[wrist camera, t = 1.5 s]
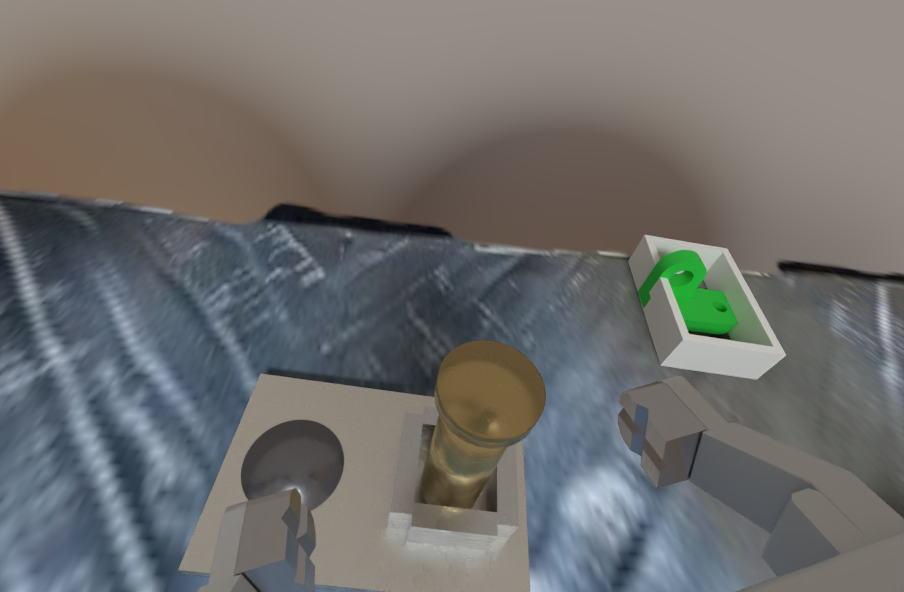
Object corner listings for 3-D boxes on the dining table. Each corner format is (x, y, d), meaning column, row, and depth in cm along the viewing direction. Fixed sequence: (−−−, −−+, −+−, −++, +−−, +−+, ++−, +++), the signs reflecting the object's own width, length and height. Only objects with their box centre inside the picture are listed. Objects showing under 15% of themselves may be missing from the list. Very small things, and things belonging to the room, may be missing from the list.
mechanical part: (650, 326, 56) (684, 282, 50) (637, 291, 60) (667, 247, 54) (738, 336, 57) (781, 294, 51) (719, 301, 61) (758, 259, 55)
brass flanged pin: (407, 520, 35) (432, 428, 23) (416, 443, 39) (441, 333, 28) (487, 529, 36) (550, 444, 24) (487, 452, 40) (541, 347, 28)
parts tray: (660, 365, 52) (683, 339, 48) (628, 261, 64) (644, 234, 61) (756, 379, 53) (786, 355, 49) (706, 274, 65) (727, 248, 61)
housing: (184, 574, 32) (159, 555, 28) (262, 382, 43) (253, 348, 39) (525, 609, 34) (547, 596, 30) (516, 416, 45) (532, 387, 41)
